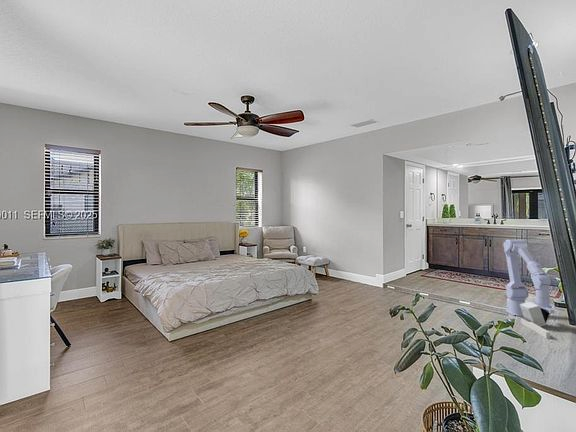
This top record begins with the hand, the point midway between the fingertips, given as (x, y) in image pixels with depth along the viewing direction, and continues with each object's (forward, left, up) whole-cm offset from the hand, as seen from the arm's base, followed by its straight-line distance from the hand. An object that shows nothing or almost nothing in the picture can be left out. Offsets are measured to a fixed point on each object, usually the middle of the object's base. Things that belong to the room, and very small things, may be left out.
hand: (543, 322), depth 160 cm
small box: (0, -4, -1) cm, 4 cm away
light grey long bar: (+7, -8, -1) cm, 11 cm away
